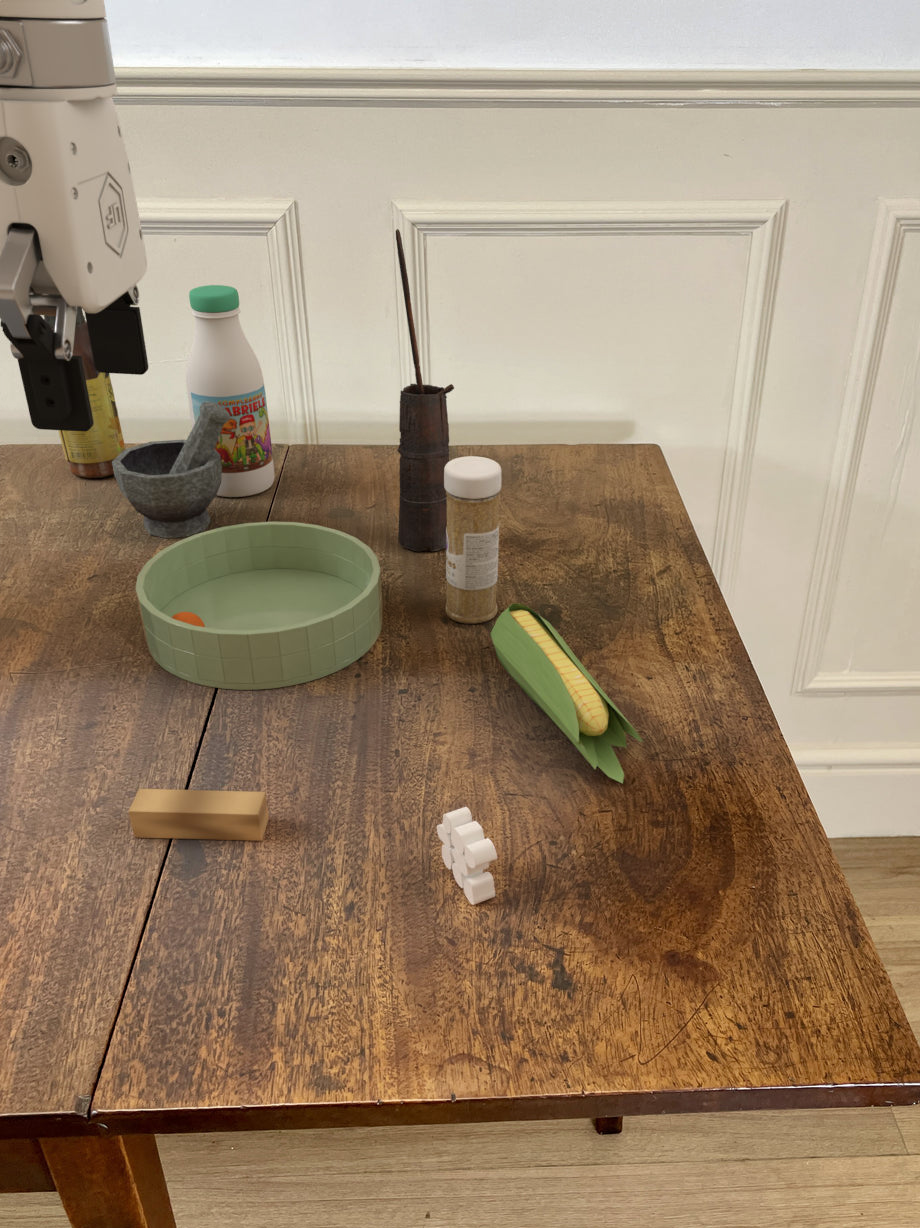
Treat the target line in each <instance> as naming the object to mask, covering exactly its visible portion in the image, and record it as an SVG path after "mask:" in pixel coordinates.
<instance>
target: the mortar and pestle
mask: <svg viewBox="0 0 920 1228" xmlns="http://www.w3.org/2000/svg"><path fill="white" fill-rule="evenodd" d="M199 409H200V415H199V417H198V419H197V421H196V423H195V425H194V427H193V429H192V428H191V430H190V432H189V435H188V436H187V438H186V439H170V440H169V439H167V440H153V441H148V442H145V443H142V444H139V445H136V446H132V447H129V448H125V450H123V451H122V452H121V453H120V454H119V455H118V456H117V457H116V458H115V459H114V460H113V461H112V465H113V470H114V474H113V475H114V477H115V480H116V484H117V485H118V489H119V490H120V492H121V493H122V495H123V496H124V497H125V498H126V499H127V501H128V502H129V504H130V505H131V506H132V507H133V508H134V510H135V511H136V512H137V513H139V514H140V515H142V516H143V526H144V527H143V528H144V529H145V530H146V531H147V533H148V534H149V535H151V536H155V537H159V538H163V539H177V538H188V537H190V536H193V535H195V534H199V533H202V532H205V531H206V529H207V528H208V526H209V525H210V523H211V518H210V513H209V511H208V509H207V508H208V507H209V506H211V503H213V501H214V500H215V499H216V496H217V492H218V490H219V487H220V485H221V479H222V465H221V457H220V454H219V453H218V452H217V451H216V450H215V446H216V444H217V441H218V438H219V436H220V433H221V430H222V428H223V425H224V424H225V423H226V422H228V421H229V418H230V414H229V413H228V411H227V410H226V409H225V408H223V407H222V406H220V405H218V404H216V403H214V402H209V401H205V402H203V403H202V404H201V406H200V408H199Z"/></svg>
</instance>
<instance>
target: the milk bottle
mask: <svg viewBox="0 0 920 1228" xmlns="http://www.w3.org/2000/svg"><path fill="white" fill-rule="evenodd" d="M188 298H189V299H188V300H189V304H190V307H191V315H192V316H194V324H195V325H194V333H193V339H192V343H191V347H190V349H189V353H188V356H187V360H186V366H185V383H186V392H187V393H186V394H187V400H188V401H187V402H188V408H189V415H190V423H191V430H192V429H193V427H194V425H195V423H196V421H197V419H198V417H199V415H200V409H199V408H200V406H201V404H202V403H203V402H205V401H209V402H214V403H216V404H218V405H220V406H222V407H223V408H225V409H226V410H227V411H228V413H229V414H230V418H229V421H228V422H226V423H225V424H224V425H223V428H222V430H221V433H220V436H219V438H218V441H217V444H216V446H215V450H216V451H217V452H218V453H219V454H220V457H221V465H222V479H221V485H220V487H219V490H218V492H217V495H216V496H218V497H225V498H239V497H240V498H241V497H249V496H254V495H257V494H260V493H263V492H265V491H266V490H268V489H270V488H271V487H272V486H273V484H274V481H275V479H276V475H275V467H274V465H275V464H274V457H273V456H274V455H273V447H272V446H273V445H272V439H271V438H272V437H271V430H270V428H271V427H270V421H269V412H268V403H267V402H268V401H267V396H266V389H265V388H266V387H265V381H264V376H263V371H262V367H261V365H260V362H259V359H258V357H257V355H256V353H255V351H254V350H253V348H252V346H251V345H250V343H249V341H248V338H247V337H246V335H245V333H244V330H243V328H242V325H241V323H240V319H239V314H240V313H241V309H240V296H239V292H238V289H236V287H233V286H229V285H222V284H209V285H208V284H207V285H201V286H197V287H194V288H192V289H191V290H189V293H188Z"/></svg>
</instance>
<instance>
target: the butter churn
mask: <svg viewBox="0 0 920 1228" xmlns="http://www.w3.org/2000/svg"><path fill="white" fill-rule="evenodd" d="M395 240H396V249H397V250H396V251H397V257H398V264H399V272H400V279H401V284H402V292H403V298H404V299H403V300H404V306H405V313H406V320H407V327H408V333H409V334H408V335H409V341H410V349H411V355H412V361H413V366H414V373H415V374H414V375H415V383H410V384H409V385H406V386H405V387H403V389H402V390H400V392H399V393H400V395H399V422H398V423H399V425H398V428H399V433H400V434H399V435H400V438H399V445H398V448H397V449H396V450H397V452H398V454H399V455H400V457H399V473H398V476H399V478H398V480H399V481H398V482H399V494H398V495H399V497H398V499H399V505H398V506H399V508H398V538H397V539H398V543H399V545H400V546H401V547H402V548H405V549H407V550H411V551H415V552H423V551H430V552H435V551H436V552H437V551H441V550H444V549H446V527H447V494H446V489H445V488H444V468H445V465H446V464H447V463H448V462H449V461H450V446H449V445H450V429H449V428H450V427H449V417H448V416H449V415H448V405H447V403H448V402H447V398H448V396H447V394H449V393H451V392H452V391H453V390H454V389H455V385H453V384H452V383H450V384H449V385H447V386H446V387H443V386H437V385H432V384H424V383H423V377H422V373H421V365H420V357H419V348H418V342H417V341H418V340H417V335H416V329H415V328H416V327H415V323H414V316H413V309H412V302H411V301H412V300H411V292H410V284H409V276H408V270H407V264H406V258H405V253H404V249H403V247H404V246H403V240H402V234H401V231H400V230H399V229H398V228H397V229H396V230H395Z"/></svg>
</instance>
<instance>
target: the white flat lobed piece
mask: <svg viewBox="0 0 920 1228" xmlns="http://www.w3.org/2000/svg"><path fill="white" fill-rule="evenodd" d="M436 833H437V836H438V838H439V840H440V841H441V842H442V843H443V844H442V845H441V859H442V861H443V863H444V866H445V867H446V868H447V869H448V870H449V871H450V870H451V871H452V874H453V878H454V880H455V882H456V883H457V885H458V887H460V888H461V889H463V893H464V895H465V897H466V899H467V901H468V902H469V903H470V904H471V905H472V906H474V905H477V904H480V903H482V902H485V901H488V900H490V899H493V898H496V890H495V889H496V888H495V880H494V877H493V875H492V873H491V872H489V871H485V872H484V870H487V869H489V868H490V863H491V862H494V861H496V860H498V853H497V850H496V847H495V845H494V843H493V841H492V840H491V839H490V838H489V837H487V838H485V834H484V829H483V827H482V826H481V824H480V823H479V822H478V821H477V820H473V816H472V813H471V810H470V809H469V807H467V806H463V807H460V808H457V809H455V810H452V811H448V812H446V813H443V814H442V823H440V824H437V825H436Z"/></svg>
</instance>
